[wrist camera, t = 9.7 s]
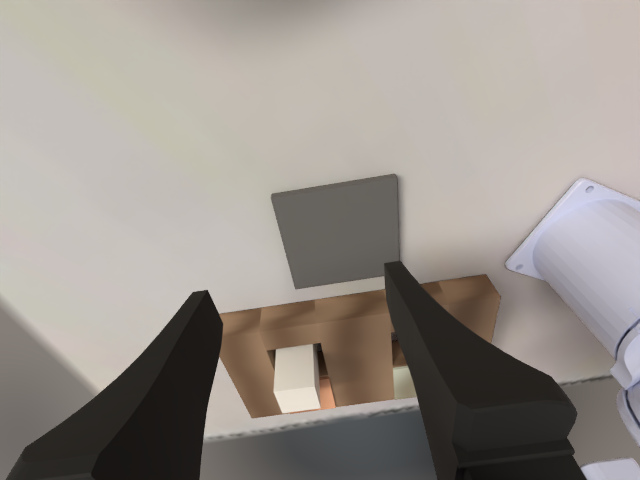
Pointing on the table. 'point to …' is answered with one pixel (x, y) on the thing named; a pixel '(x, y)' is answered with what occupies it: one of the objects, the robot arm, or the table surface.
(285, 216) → the grey square plate
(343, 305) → the socket block
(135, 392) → the robot arm
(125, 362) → the table surface
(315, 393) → the plug
